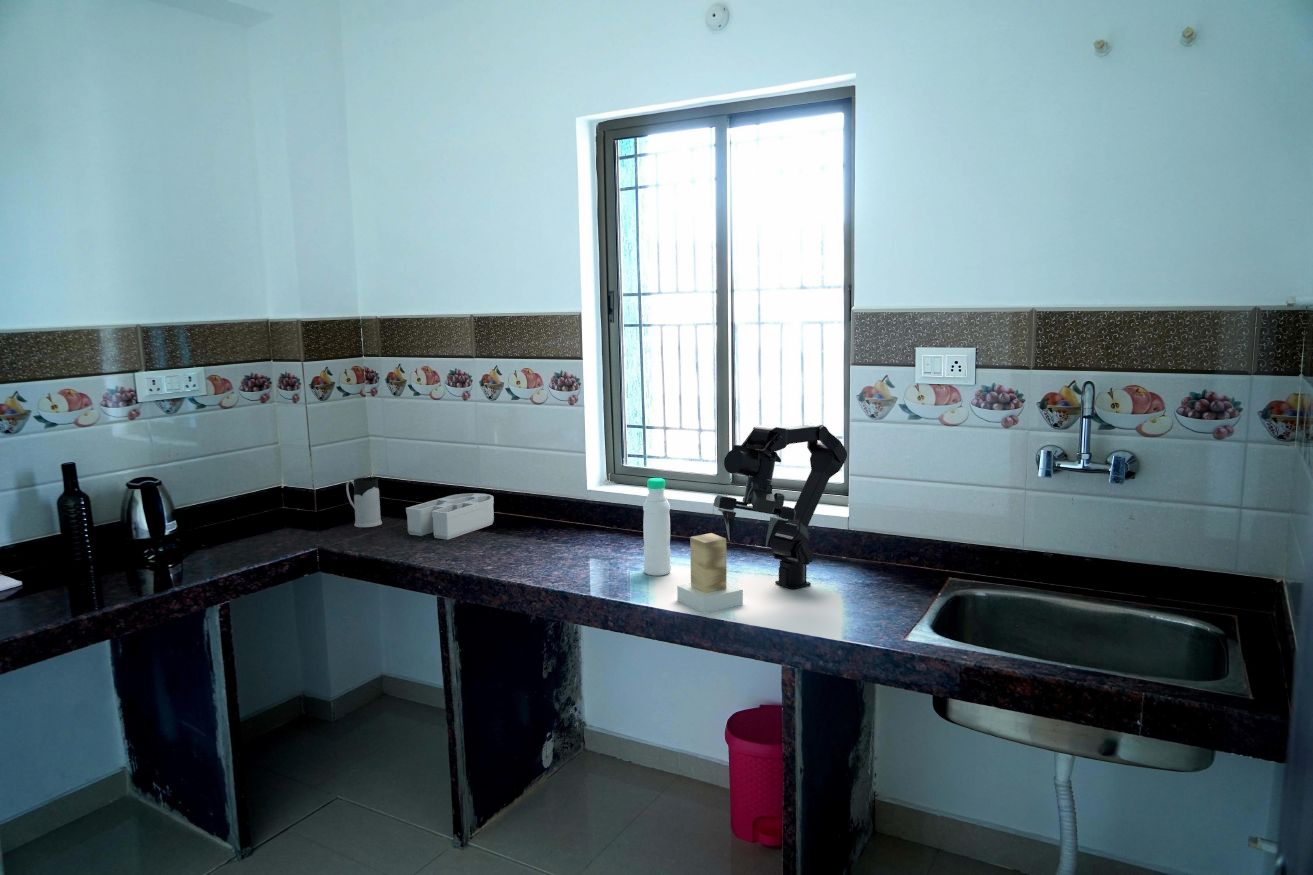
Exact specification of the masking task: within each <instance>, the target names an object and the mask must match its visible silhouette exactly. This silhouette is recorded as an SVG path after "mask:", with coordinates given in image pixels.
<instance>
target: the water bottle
mask: <svg viewBox="0 0 1313 875" xmlns="http://www.w3.org/2000/svg"><path fill="white" fill-rule="evenodd" d="M646 486H647V490H648V494H647V495H646V498H645V500H644V503H643V505H642V510H643V520H642V521H643V525H642V526H643V527H642V528H643V544H644V546H643V558H644V560H643V572H644V573H645V574H646V575H649V576H655V577H658V576H659V577H662V576H665V575H668V574H669V573H670V572H671V570H672V569H671V568H672V565H671V546H670V543H671V516H670V510H671V504H670V502H669V500H668V498H667V495H666V494H665V489H666V480H665V479H664V478H661V477H653V478H648V479H647V482H646Z"/></svg>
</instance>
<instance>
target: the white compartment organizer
mask: <svg viewBox="0 0 1313 875" xmlns="http://www.w3.org/2000/svg"><path fill="white" fill-rule="evenodd" d="M494 499H495V498H494V496H493V495H491V494H487V493H479V492H477V493H475V492H474V493H470V492H469V493H459V494H452V495H447V496H445V497H441V498H437V499H434V500H429V501H426V502H423V503H420V504H416V505H412V506H409V507H405V512H406V517H407V521H406V522H407V532H408V535H410V536H411V535H412V536H421V537H423V536H427V535H428V534H432V533H433V537H434V538H435V539H441V540H447V541H448V540H451V539H453V538H457V537H459V536H463V535H465V534H468V533H472V532H474V531H478V530H480V529H483V528H486V527H489V526H491V525H493V523H494V520H495V515H494V504H495V502H494Z"/></svg>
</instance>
